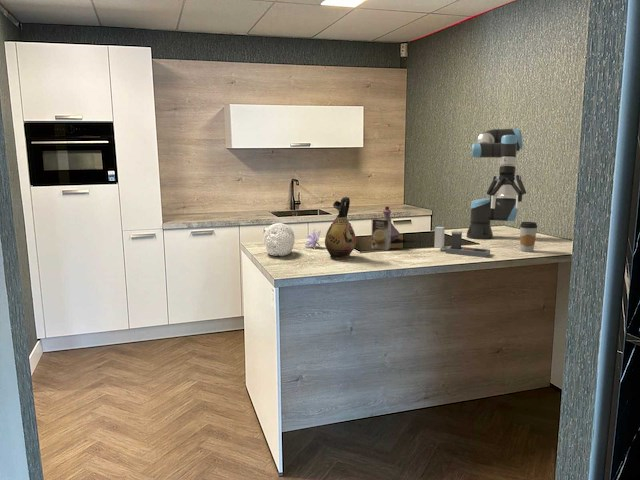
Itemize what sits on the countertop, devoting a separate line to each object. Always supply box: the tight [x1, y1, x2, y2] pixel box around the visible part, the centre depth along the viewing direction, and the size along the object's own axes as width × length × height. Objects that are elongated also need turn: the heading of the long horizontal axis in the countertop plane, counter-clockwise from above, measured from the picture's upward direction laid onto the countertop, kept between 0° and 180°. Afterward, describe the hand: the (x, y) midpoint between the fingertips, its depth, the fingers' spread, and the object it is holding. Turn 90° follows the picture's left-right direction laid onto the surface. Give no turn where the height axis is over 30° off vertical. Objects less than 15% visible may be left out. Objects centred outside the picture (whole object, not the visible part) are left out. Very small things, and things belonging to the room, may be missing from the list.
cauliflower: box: [262, 222, 296, 257], centre depth 259 cm, size 20×18×16 cm
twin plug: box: [450, 230, 463, 249], centre depth 258 cm, size 4×4×11 cm
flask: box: [382, 206, 401, 243], centre depth 295 cm, size 16×16×20 cm
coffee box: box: [371, 217, 392, 251], centre depth 272 cm, size 9×6×16 cm
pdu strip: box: [439, 245, 491, 259], centre depth 257 cm, size 9×24×4 cm, turn 59°
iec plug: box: [434, 226, 446, 249], centre depth 272 cm, size 4×4×11 cm
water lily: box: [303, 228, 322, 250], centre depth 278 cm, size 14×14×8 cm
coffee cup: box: [519, 221, 538, 253], centre depth 264 cm, size 8×8×15 cm
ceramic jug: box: [324, 196, 357, 260], centre depth 250 cm, size 17×15×30 cm
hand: (505, 208), depth 254 cm, fingers open, 13 cm apart
